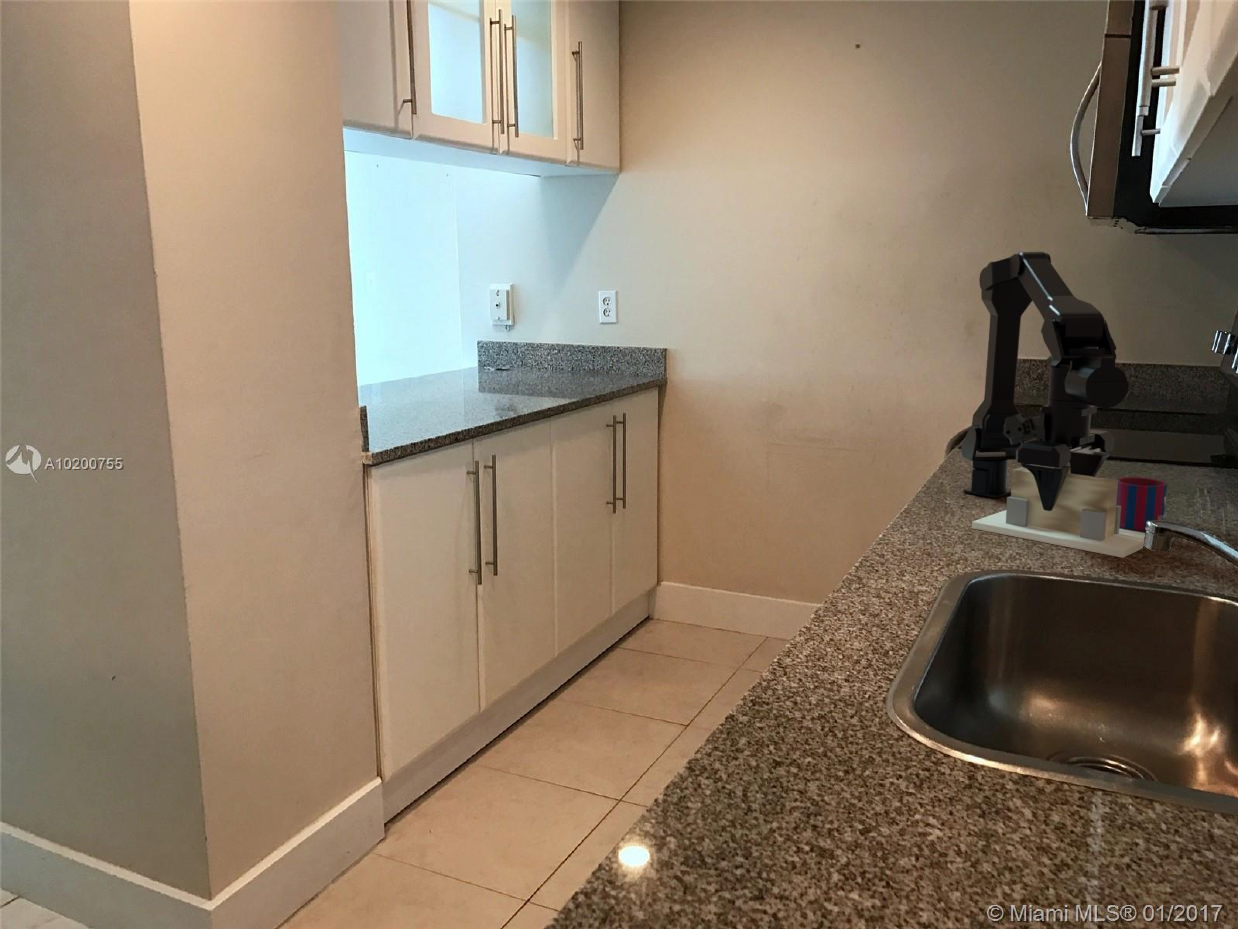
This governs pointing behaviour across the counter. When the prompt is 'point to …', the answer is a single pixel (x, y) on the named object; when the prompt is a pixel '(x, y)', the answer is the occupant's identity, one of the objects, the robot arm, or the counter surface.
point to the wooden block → (1068, 501)
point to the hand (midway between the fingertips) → (1062, 505)
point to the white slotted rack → (1088, 539)
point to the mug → (1140, 501)
